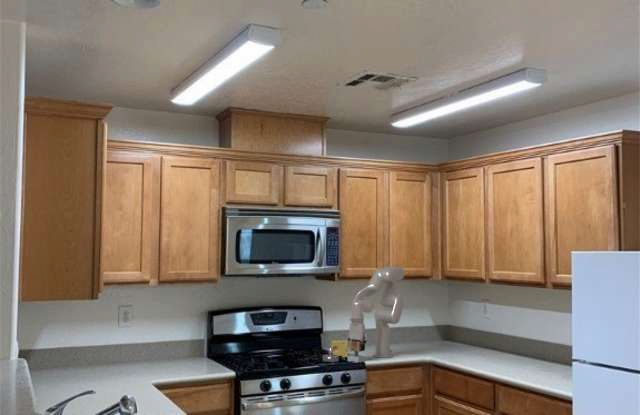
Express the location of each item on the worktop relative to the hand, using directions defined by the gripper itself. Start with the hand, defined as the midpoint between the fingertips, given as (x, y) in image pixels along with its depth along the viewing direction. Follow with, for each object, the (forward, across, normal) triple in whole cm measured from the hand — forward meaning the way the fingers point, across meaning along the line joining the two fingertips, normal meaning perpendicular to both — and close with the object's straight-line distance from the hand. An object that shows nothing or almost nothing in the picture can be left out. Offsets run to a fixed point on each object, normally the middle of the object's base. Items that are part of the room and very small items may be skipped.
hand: (357, 349), depth 387 cm
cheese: (+8, -19, +8) cm, 22 cm away
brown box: (+1, 0, 0) cm, 1 cm away
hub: (+7, -12, -12) cm, 18 cm away
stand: (+7, 0, -1) cm, 7 cm away
